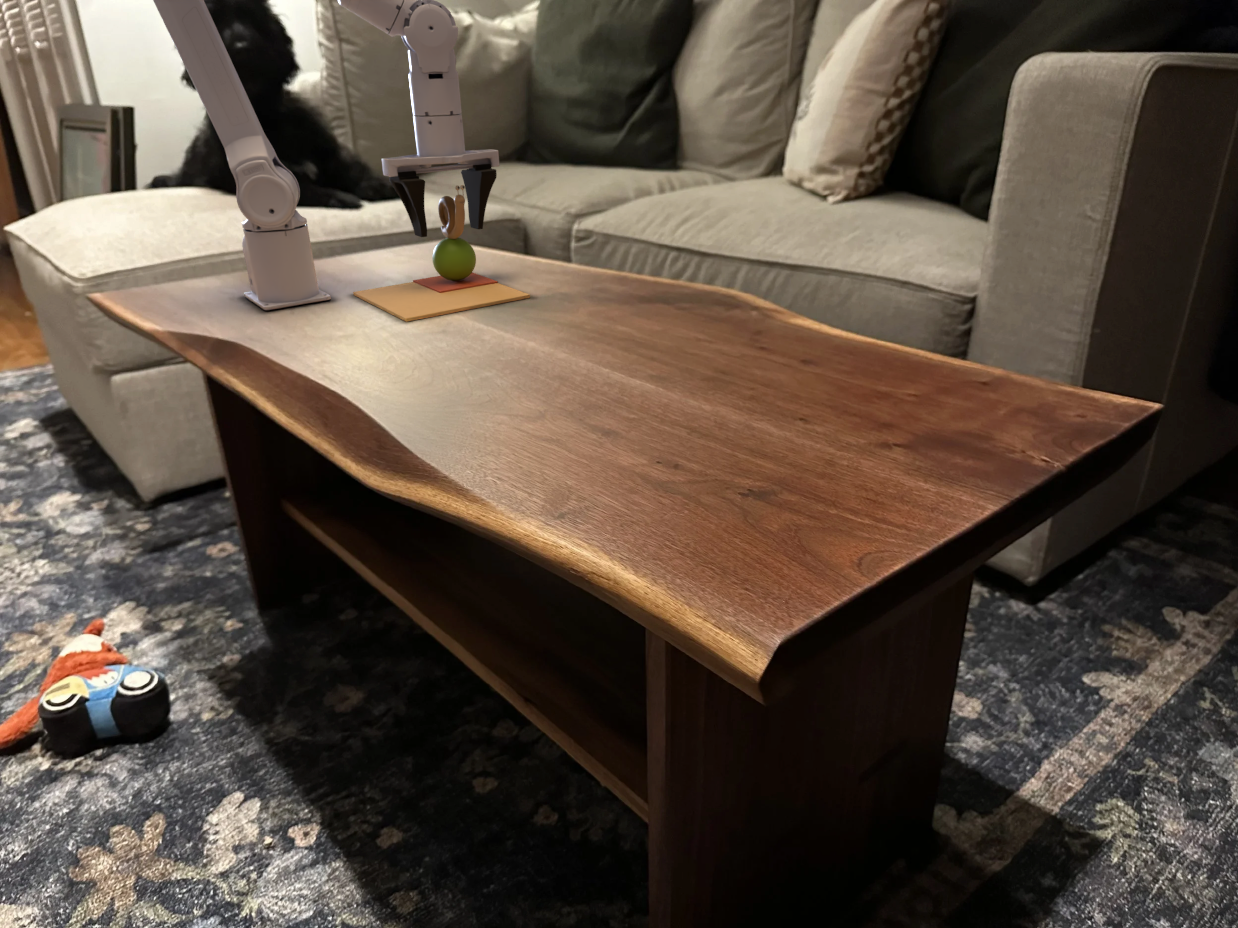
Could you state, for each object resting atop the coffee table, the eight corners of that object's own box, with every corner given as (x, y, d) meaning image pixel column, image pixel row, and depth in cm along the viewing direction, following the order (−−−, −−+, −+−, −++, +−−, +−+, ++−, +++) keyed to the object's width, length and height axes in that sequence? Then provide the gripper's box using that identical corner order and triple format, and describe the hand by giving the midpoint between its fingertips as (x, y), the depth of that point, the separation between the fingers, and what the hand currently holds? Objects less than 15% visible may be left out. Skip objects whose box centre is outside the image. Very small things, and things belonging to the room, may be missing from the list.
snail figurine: (451, 289, 107) (440, 187, 102) (427, 280, 112) (416, 183, 107) (489, 281, 110) (480, 183, 105) (465, 273, 115) (455, 178, 110)
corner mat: (353, 295, 108) (352, 290, 108) (468, 275, 117) (468, 271, 116) (406, 322, 97) (405, 316, 96) (530, 297, 105) (530, 292, 105)
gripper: (393, 119, 96) (408, 244, 102) (507, 113, 104) (516, 229, 110) (369, 117, 102) (384, 236, 107) (479, 111, 109) (489, 222, 115)
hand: (449, 232), depth 109 cm, fingers open, 7 cm apart
